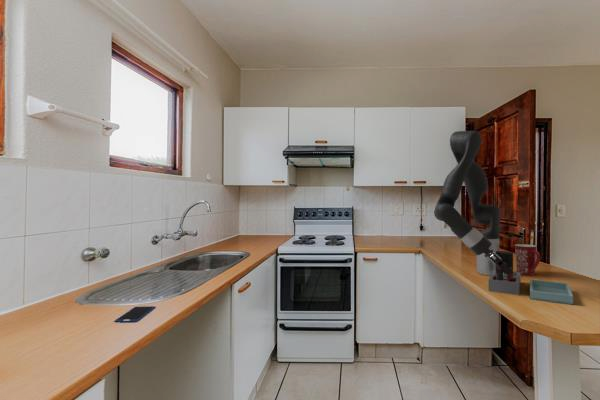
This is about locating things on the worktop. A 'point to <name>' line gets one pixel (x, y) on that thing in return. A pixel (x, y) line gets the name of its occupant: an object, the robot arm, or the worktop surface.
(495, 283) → the holder
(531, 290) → the tray
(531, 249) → the mug
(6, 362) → the worktop surface
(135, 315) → the cell phone
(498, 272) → the deodorant
